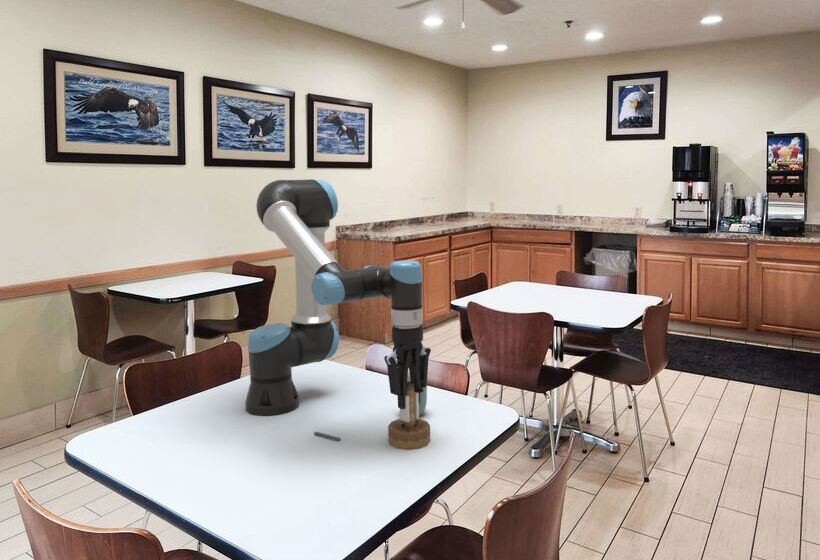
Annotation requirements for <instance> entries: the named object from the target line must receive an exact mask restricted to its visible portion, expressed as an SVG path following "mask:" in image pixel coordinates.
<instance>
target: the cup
mask: <svg viewBox="0 0 820 560" xmlns="http://www.w3.org/2000/svg"><path fill="white" fill-rule="evenodd" d="M407 381H410V374H408V378H407ZM422 389H424V391H423V392H422V393H421V392H420V404H419V416H421V415H422V414H424V412H425V410H426V407H427V404H428V403H427V402H428V400H427V399H428V385H427V386H426V387H425V388H422Z"/></svg>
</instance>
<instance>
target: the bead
mask: <svg viewBox="0 0 820 560" xmlns="http://www.w3.org/2000/svg"><path fill="white" fill-rule="evenodd" d="M387 428H388V429H387V432H388V437H387V439H388V443H389V445H390V446H392V447H394V448H396V449H401V450H417V449H420V448H424V447H426V446H428V445H429V443H430V442H431V425H430V423H429V422H428V421H427V420H425V419H422V418H419V419H415V428H410V429H407V428H405V422H404V421H402V420H400V418H398V419H394V420H392V421H391V422H390V423H389V424H388V425H387Z"/></svg>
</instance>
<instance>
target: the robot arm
mask: <svg viewBox="0 0 820 560" xmlns="http://www.w3.org/2000/svg"><path fill="white" fill-rule="evenodd" d="M338 209H339V201H338V197H337V194H336V191H335V189H334V188H333V187H332V185H331V184H330V183H329V182H328V181H326V180H322V179H313V178H312V179H278V180H277V179H276V180H273V181H271V182H270V183H267V185H265V186H264V187H263V189H261V191H260V192H259V194H258V196H257V198H256V213H257V215H258V218H259V220H260V222H261V224H262V225H263V226H264V228H265V229H266V230H267V231H269V232H272V233H274V234H275V235H276V237H278V239H279V240H280V241H281V242H282V244H283V245H284V246H285V248H286V249H287V250H288V251H289V253H291V255H292V256H293V258H294V265H295V267H294V268H295V269H294V270H295V298H296V299H295V308H296V309H295V310H296V313H295V314H294V315H293V316H292V317H291V326H289V324H287V323H284V322H283V323H280V322H278V323H277V322H276V323H274V324H273V323H269V324H265V325H261V326H259V327H257V328H255V329H253V330H252V331H250V333H249V335H248V339H247V340H248V341H247V342H248V344H247V345H248V346H247V350H248V362H249V375H250V376H249V377H250V384H249V386H248V390H247V394H246V399H245V401H244V402H245V403H244V404H245V411H247V413H249V414H252V415H257V416H275V415H280V414H281V415H282V414H286V413H289V412H291V411H293V410H296V409H297V408H299V406H300V397H299V394H298V392H297V388H296V386H295V384H294V381H293V377H292V376H293V375H292V368H296V367H299V366H305V365H308V364H313V363H321V362H323V361H325V360H329V359H331V358H332V357H333V356H334V355H336V352H337V351H338V348H339V343H340V335H339V331H338V327H337V325H336V324H335V322H334V321H332V320H331V319H332V317H331V316H330V315H329V314H328V313H327V312H326V311H327V310H326V309H327V307H326V306H327V305H340V304H343V303H350V302H355V301H363V300H367V299H368V300H369V299H373V298H386V299H390V302H391V304H390V308H391V309H390V311H391V313H390V314H391V315H390V317H391V324H392V325H393V326H392V327H391V339H392V343H393V349H392V353H390V354H389V355H385V356H384V358H383V359H384V362H385V363H386V366H387V375H388V383H389V384H388V385H389V390H390V394H392V395H395V396H397V408H398V409H399V419H400V420H402V421H405V422H410V416H409V396H408V395H406V392H407V378H408V375H410V381H411V382H414V412H415V419H420V415H419V404H420V392H421V393H422V392H423V391H424V389H422V388H425V387H426V386H427V387H428V374H429V373H428V372H429V371H428V370H429V358H430V355H431V351H432V349H431V348H430V347H426V346H424V345H423V343H422V341H424V326H423V325H422V324H423V323H424V320H423V318H424V317H423V275H422V274H423V270H422V264H421V263H420V262H419V261H417V260H395V261H393V262H391V263H390V266H389V267H387V266H382V265H381V266H380V265H379V264H377V265H366V266H364V267H363V268H357V269H347V270H346V269H344V268H343V266H342V265H341V264H340V263H339V262H338V260H337V259H335V257H334V256H333V255H332V254H331V252H329V251H328V248H326V246H325V245H326V244H325V242H326V241H325V239H326V238H325V236H326V235H325V233H326V232H327V230H328V229H329V228H330V227H331V222H330V221H331V220H333V219H335V217H336V216H337V214H338V211H339V210H338ZM408 373H409V374H408Z"/></svg>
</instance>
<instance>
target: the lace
mask: <svg viewBox="0 0 820 560" xmlns="http://www.w3.org/2000/svg"><path fill="white" fill-rule="evenodd" d="M313 435H314V436H317V437H321V438H324V439H329V440H333V441H336V442H339V441H341V437H338V436H335V435H331V434H327V433H323V432H319V431H315V432H313Z"/></svg>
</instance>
